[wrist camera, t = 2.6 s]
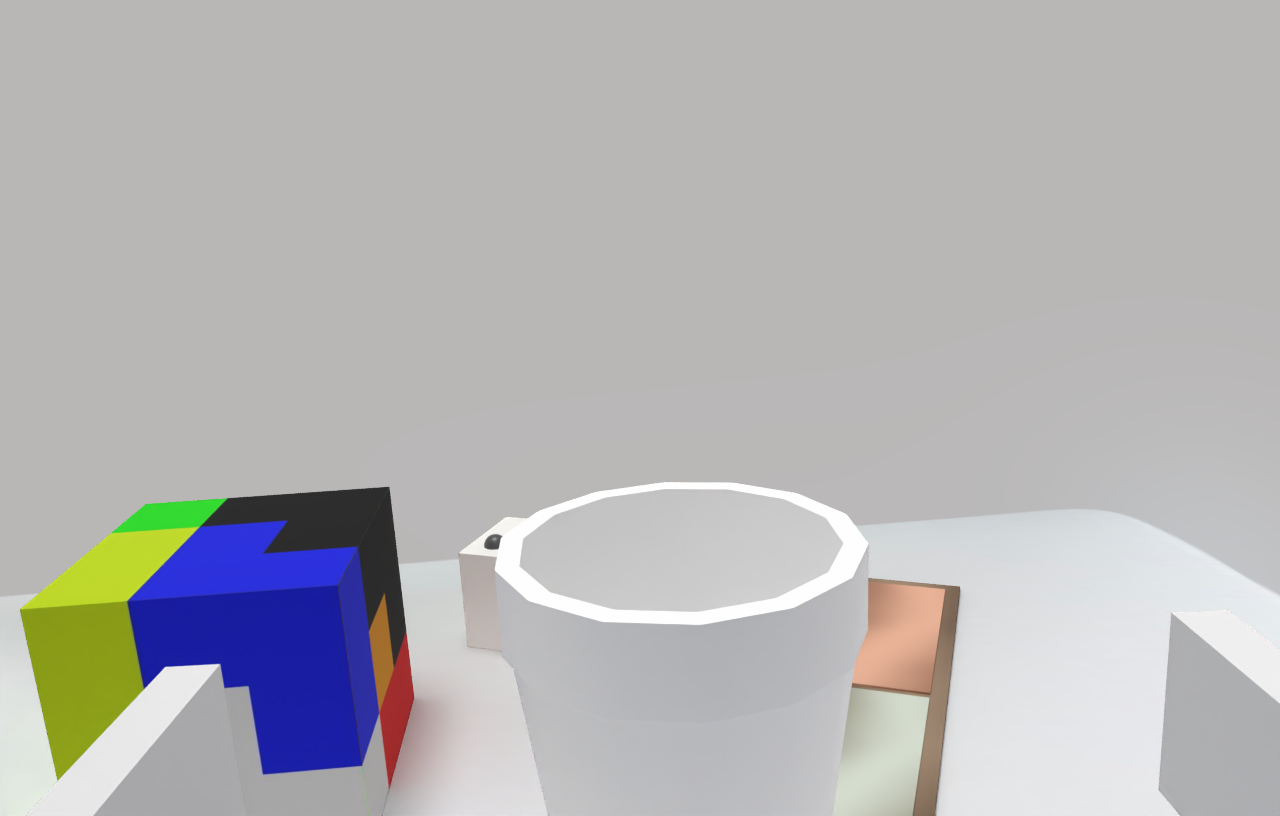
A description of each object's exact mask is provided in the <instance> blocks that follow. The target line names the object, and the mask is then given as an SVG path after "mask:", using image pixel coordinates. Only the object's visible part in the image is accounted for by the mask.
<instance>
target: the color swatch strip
mask: <svg viewBox="0 0 1280 816" xmlns="http://www.w3.org/2000/svg"><path fill="white" fill-rule="evenodd" d="M959 593H960V587H958V586H947V585H936V584H926V583H915V582H905V581H894V580H883V579H873V578H868V631H867V633H866V636H865V639H864V641H863V644H862V646H861V649H860V651H859V654H858V656H857V659H856V662H855V666H854V673H853V680H852V686H851V693H850V700H849V707H848V713H847V720H846V727H845V734H844V740H843V747H842V754H841V760H840V767H839V774H838V781H837V787H836V794H835V801H834V808H833V814H832V816H935V807H936V798H937V789H938V780H939V771H940V763H941V754H942V745H943V736H944V727H945V718H946V709H947V700H948V691H949V682H950V674H951V665H952V656H953V647H954V638H955V629H956V620H957V611H958V602H959Z"/></svg>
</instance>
